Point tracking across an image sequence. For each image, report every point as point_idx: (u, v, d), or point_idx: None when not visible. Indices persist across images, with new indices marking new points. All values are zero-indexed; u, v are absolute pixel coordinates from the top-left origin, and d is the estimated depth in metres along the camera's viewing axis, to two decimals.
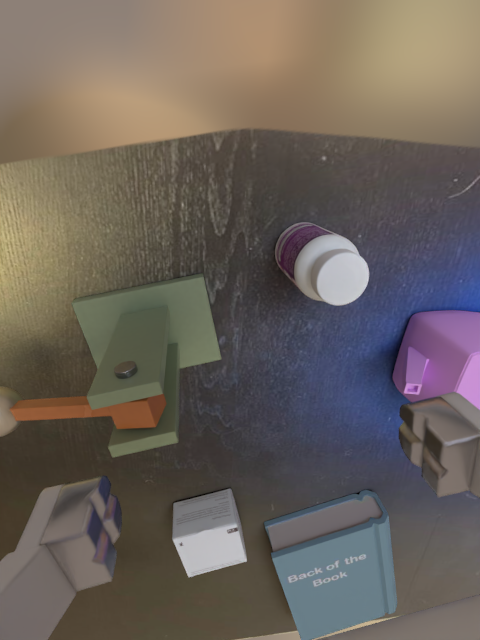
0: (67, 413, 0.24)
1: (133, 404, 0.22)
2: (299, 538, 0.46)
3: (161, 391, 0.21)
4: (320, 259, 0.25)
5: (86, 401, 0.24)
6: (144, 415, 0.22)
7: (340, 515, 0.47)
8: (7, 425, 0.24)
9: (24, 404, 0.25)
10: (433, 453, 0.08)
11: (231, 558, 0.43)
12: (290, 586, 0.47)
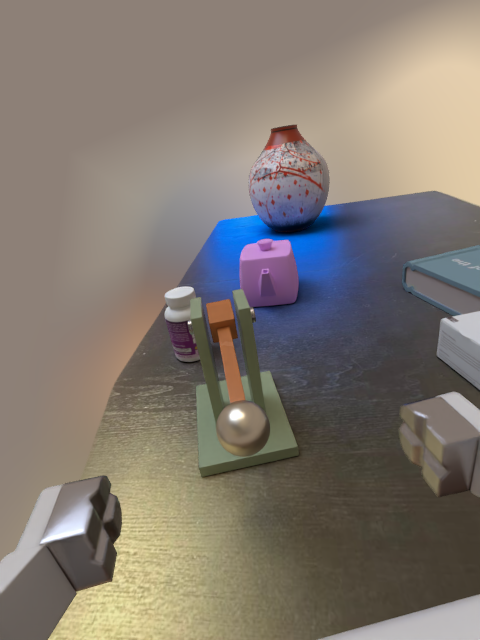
0: (230, 357, 0.27)
1: (209, 309, 0.31)
2: (461, 293, 0.47)
3: (198, 297, 0.32)
4: (168, 303, 0.45)
5: (220, 348, 0.28)
6: (219, 304, 0.31)
7: (428, 287, 0.53)
8: (244, 400, 0.23)
9: (229, 397, 0.25)
10: (433, 453, 0.08)
11: None
12: None
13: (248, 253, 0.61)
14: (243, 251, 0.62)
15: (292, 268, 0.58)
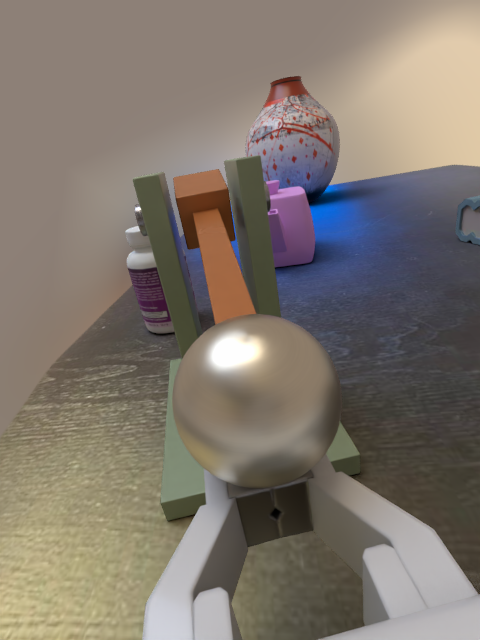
0: (219, 249, 0.12)
1: (178, 182, 0.15)
2: None
3: (159, 173, 0.17)
4: (130, 241, 0.30)
5: None
6: (197, 175, 0.16)
7: None
8: None
9: None
10: None
11: None
12: None
13: None
14: None
15: (308, 213, 0.43)
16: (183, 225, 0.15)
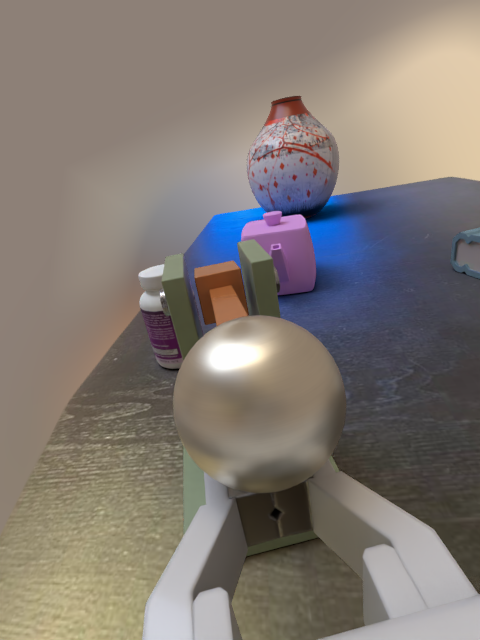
0: (230, 306, 0.13)
1: (198, 270, 0.18)
2: None
3: (179, 254, 0.19)
4: (143, 285, 0.32)
5: None
6: (215, 265, 0.18)
7: None
8: None
9: None
10: None
11: None
12: None
13: (251, 229, 0.48)
14: (245, 228, 0.49)
15: (309, 245, 0.45)
16: (201, 301, 0.16)
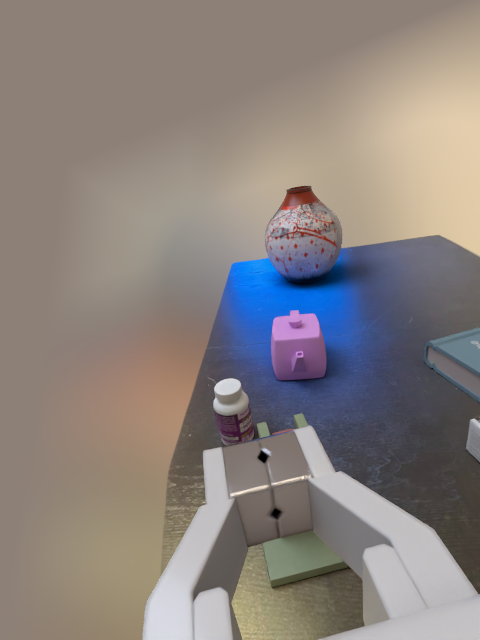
0: None
1: None
2: None
3: (263, 422, 0.37)
4: (218, 398, 0.49)
5: None
6: (283, 431, 0.36)
7: (450, 368, 0.57)
8: None
9: None
10: None
11: None
12: None
13: (279, 330, 0.65)
14: (274, 327, 0.67)
15: (322, 347, 0.62)
16: None
